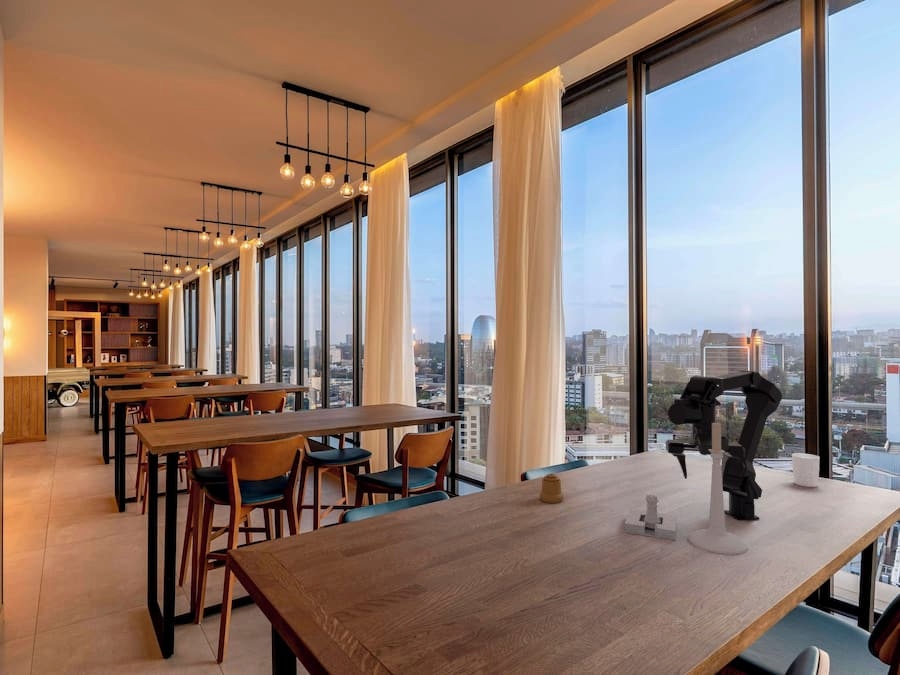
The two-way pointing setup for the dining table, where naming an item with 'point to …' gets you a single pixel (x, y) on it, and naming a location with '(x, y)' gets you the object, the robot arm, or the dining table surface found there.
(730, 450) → the robot arm
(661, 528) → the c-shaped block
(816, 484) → the white cup
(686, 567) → the dining table surface
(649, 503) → the rook chess piece
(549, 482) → the ornamental finial
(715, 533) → the candlestick
